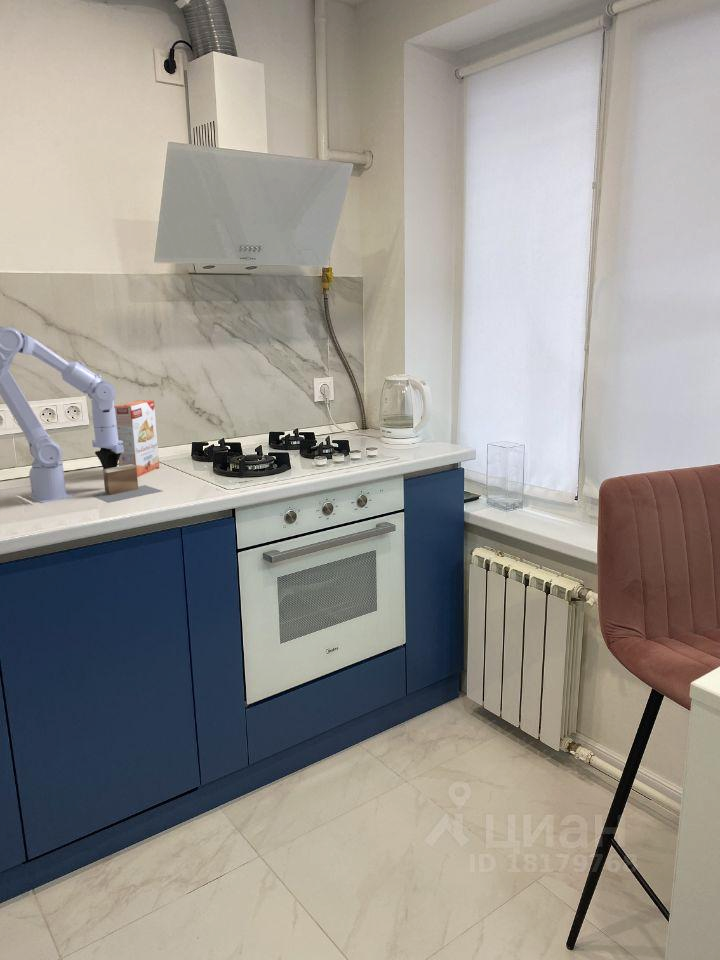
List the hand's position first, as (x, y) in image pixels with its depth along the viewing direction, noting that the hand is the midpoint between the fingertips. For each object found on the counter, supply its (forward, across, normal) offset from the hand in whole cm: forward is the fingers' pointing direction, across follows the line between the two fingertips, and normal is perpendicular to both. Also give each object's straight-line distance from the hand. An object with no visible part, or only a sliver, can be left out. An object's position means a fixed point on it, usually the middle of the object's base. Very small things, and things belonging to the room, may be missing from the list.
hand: (111, 476), depth 193 cm
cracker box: (+4, +13, -15) cm, 20 cm away
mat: (+4, -9, 0) cm, 10 cm away
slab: (+3, -6, 0) cm, 7 cm away
